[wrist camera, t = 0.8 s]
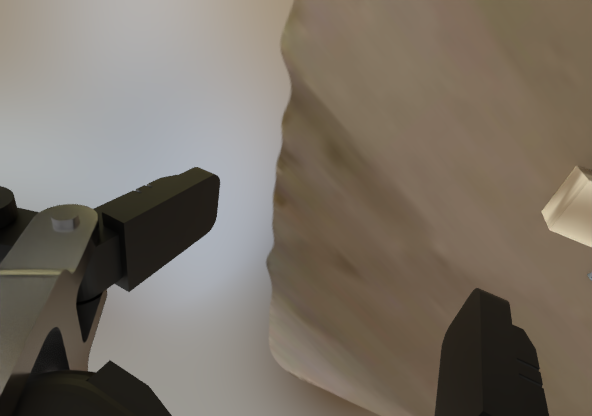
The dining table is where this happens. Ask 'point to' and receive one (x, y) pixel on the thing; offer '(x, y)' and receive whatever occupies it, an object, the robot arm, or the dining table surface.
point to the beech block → (572, 207)
